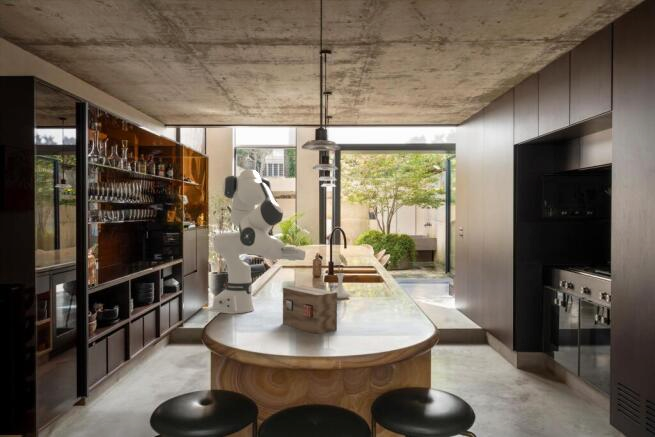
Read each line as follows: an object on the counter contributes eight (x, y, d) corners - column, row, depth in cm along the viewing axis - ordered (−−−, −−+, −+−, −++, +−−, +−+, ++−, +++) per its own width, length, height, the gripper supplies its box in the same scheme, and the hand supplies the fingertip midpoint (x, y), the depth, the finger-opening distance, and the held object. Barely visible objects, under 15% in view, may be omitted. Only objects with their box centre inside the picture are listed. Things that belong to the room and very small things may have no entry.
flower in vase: (350, 300, 283) (351, 255, 282) (330, 299, 283) (330, 255, 282) (349, 295, 296) (350, 253, 295) (330, 295, 296) (330, 253, 296)
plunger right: (310, 316, 208) (310, 306, 208) (303, 314, 211) (303, 304, 211) (324, 314, 213) (325, 304, 213) (318, 312, 216) (318, 302, 216)
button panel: (316, 334, 207) (316, 295, 206) (282, 323, 225) (283, 287, 225) (336, 330, 214) (337, 292, 213) (302, 320, 232) (302, 285, 232)
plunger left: (291, 310, 219) (291, 301, 219) (286, 309, 223) (286, 299, 222) (306, 308, 224) (306, 299, 224) (300, 307, 228) (300, 297, 228)
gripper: (295, 241, 195) (314, 252, 206) (255, 240, 207) (276, 250, 217) (291, 257, 193) (311, 267, 204) (252, 255, 205) (272, 264, 216)
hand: (293, 258), depth 211 cm, fingers closed
